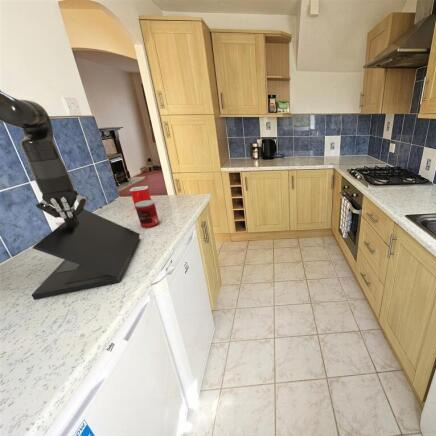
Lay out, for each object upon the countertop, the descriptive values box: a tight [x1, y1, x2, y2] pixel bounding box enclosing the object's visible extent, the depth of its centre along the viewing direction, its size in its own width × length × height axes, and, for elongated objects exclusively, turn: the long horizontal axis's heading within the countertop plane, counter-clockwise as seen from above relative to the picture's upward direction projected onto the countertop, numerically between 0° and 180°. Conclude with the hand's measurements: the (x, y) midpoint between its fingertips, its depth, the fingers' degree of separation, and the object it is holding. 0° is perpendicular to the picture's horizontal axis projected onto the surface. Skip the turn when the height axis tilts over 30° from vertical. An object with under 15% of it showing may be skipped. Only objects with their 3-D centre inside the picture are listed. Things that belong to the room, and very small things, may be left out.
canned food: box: [134, 199, 160, 229], centre depth 112 cm, size 8×8×11 cm
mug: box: [129, 185, 152, 210], centre depth 134 cm, size 12×8×11 cm
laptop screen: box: [32, 208, 141, 278], centre depth 82 cm, size 21×30×1 cm
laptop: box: [31, 236, 141, 301], centre depth 84 cm, size 21×30×2 cm
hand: (74, 227), depth 78 cm, fingers closed
